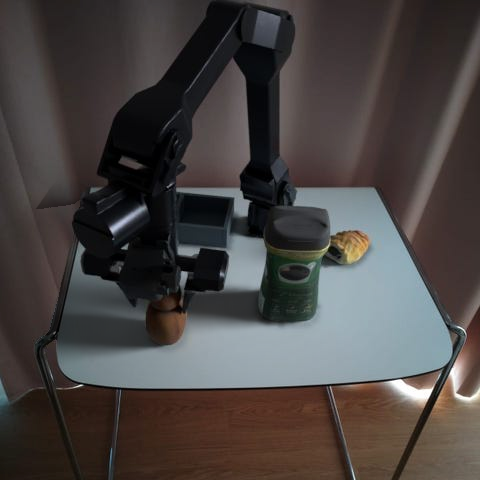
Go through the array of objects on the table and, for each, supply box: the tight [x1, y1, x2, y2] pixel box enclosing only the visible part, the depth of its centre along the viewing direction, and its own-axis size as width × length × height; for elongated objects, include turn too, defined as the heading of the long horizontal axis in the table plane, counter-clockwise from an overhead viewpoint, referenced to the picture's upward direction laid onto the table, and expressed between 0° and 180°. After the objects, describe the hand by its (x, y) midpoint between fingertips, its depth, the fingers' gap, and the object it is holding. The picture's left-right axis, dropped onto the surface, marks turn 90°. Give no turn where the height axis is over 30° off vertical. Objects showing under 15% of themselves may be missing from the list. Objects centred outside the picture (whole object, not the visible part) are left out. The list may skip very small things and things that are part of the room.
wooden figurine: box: [144, 284, 188, 346], centre depth 71 cm, size 7×6×15 cm
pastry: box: [323, 229, 371, 265], centre depth 91 cm, size 9×7×4 cm
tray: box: [177, 191, 235, 248], centre depth 94 cm, size 20×11×4 cm, turn 83°
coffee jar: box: [257, 205, 331, 323], centre depth 75 cm, size 10×8×19 cm
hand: (159, 308), depth 71 cm, fingers closed on wooden figurine, 7 cm apart
